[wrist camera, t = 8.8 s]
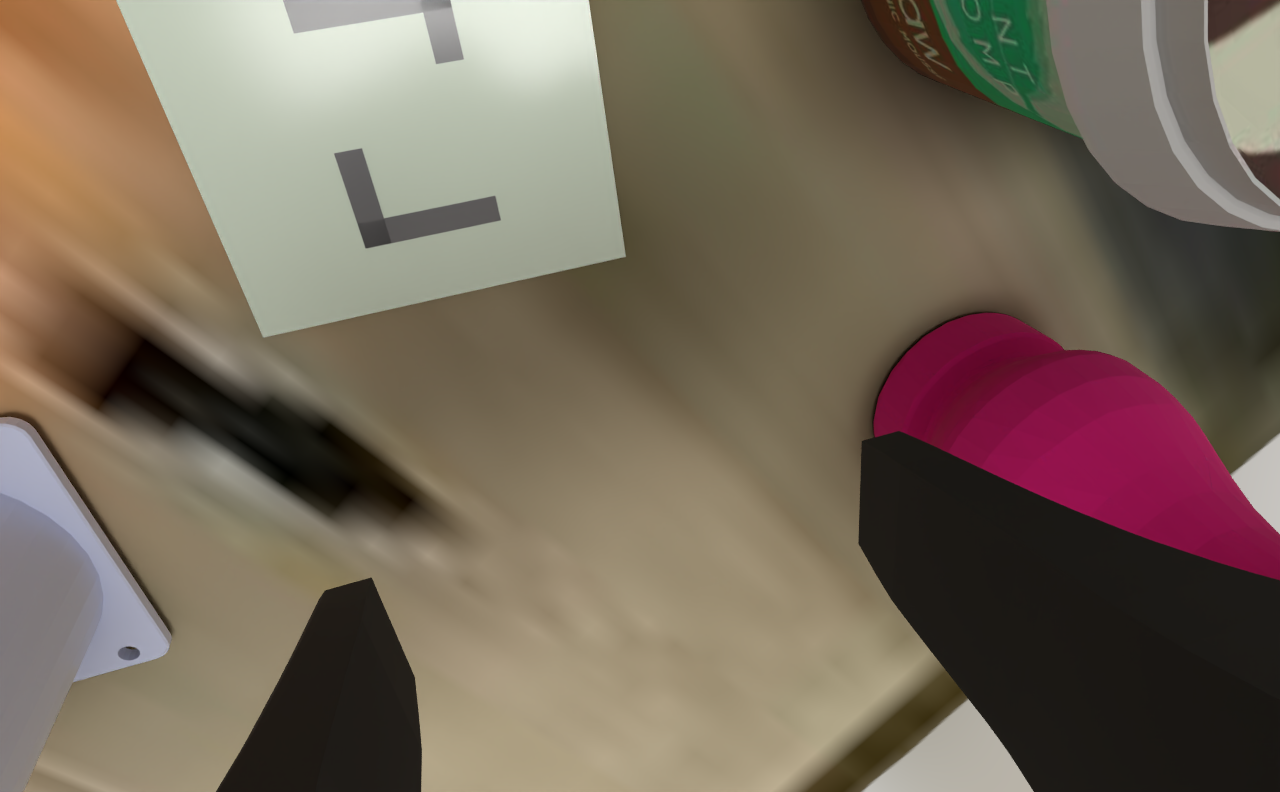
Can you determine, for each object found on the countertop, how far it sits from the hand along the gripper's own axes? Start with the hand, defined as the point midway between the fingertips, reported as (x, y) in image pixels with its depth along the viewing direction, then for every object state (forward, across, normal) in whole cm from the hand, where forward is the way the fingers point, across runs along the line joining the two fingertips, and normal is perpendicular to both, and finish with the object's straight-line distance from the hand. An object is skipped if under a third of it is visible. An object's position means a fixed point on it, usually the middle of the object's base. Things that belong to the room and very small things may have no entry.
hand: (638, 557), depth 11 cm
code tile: (+10, +2, -5) cm, 12 cm away
